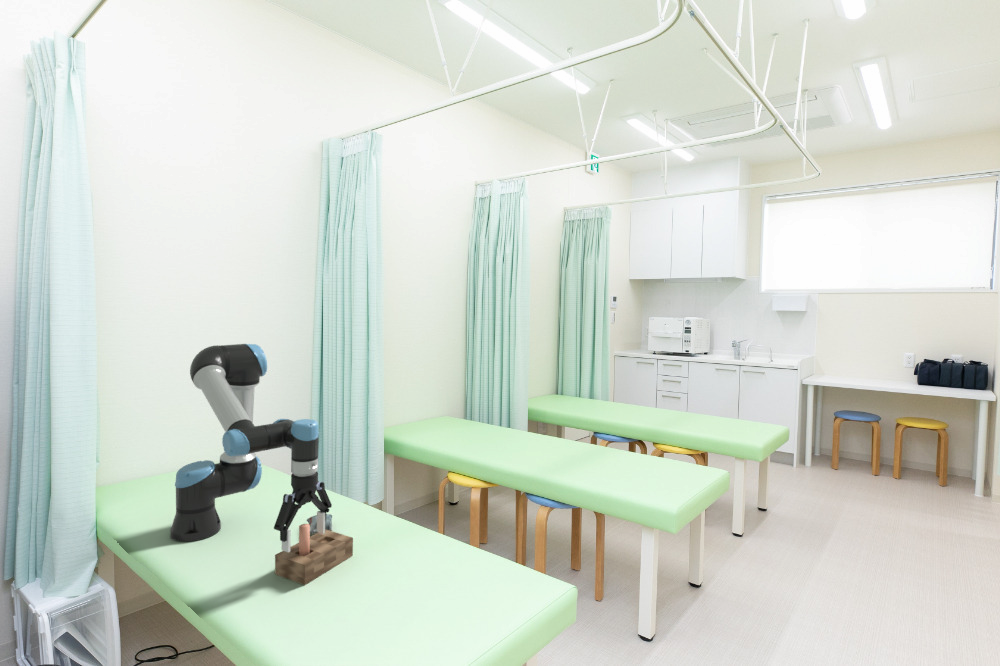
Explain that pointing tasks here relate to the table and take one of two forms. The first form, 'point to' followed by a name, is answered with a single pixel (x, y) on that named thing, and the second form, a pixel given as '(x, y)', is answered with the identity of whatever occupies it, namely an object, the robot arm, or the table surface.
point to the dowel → (304, 539)
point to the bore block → (314, 557)
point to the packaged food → (313, 523)
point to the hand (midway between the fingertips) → (304, 541)
